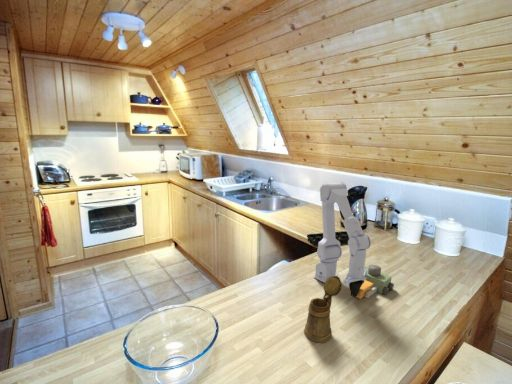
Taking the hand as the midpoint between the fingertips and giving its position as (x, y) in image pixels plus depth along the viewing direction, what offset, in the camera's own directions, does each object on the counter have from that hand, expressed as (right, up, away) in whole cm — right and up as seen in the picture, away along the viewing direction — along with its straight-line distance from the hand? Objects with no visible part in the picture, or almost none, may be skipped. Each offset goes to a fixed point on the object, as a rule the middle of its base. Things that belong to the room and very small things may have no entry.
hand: (353, 295), depth 117 cm
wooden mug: (-17, -5, -18) cm, 26 cm away
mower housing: (+9, 0, +8) cm, 12 cm away
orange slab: (+4, 0, +4) cm, 6 cm away
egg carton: (+7, +11, +61) cm, 63 cm away
